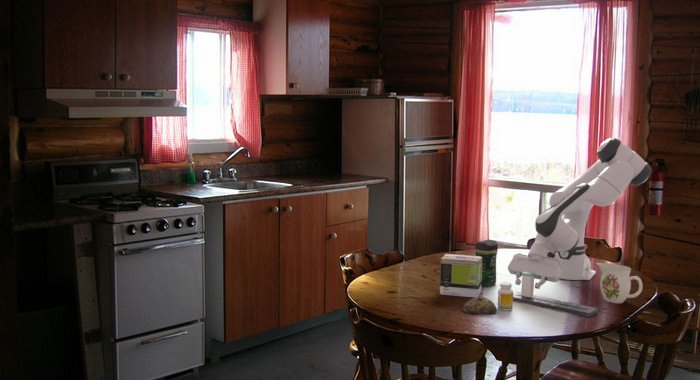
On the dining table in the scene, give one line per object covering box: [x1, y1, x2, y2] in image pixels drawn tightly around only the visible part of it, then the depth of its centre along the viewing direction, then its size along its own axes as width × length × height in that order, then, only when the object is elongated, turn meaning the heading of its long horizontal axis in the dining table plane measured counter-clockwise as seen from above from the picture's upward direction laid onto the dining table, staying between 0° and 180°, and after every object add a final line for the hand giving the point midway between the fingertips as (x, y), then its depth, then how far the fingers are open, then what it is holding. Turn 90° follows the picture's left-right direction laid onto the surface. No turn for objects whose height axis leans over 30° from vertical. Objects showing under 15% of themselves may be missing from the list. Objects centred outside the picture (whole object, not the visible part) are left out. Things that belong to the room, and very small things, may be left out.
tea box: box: [439, 253, 483, 299], centre depth 287 cm, size 15×10×15 cm, turn 71°
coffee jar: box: [474, 239, 499, 287], centre depth 301 cm, size 10×8×19 cm
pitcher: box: [595, 262, 644, 304], centre depth 279 cm, size 11×18×14 cm, turn 51°
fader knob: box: [521, 271, 535, 297], centre depth 278 cm, size 3×4×9 cm
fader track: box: [513, 291, 599, 318], centre depth 273 cm, size 8×32×2 cm, turn 50°
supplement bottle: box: [497, 281, 514, 312], centre depth 267 cm, size 5×5×10 cm
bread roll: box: [461, 296, 498, 315], centre depth 267 cm, size 13×12×5 cm
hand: (526, 285), depth 278 cm, fingers open, 7 cm apart
